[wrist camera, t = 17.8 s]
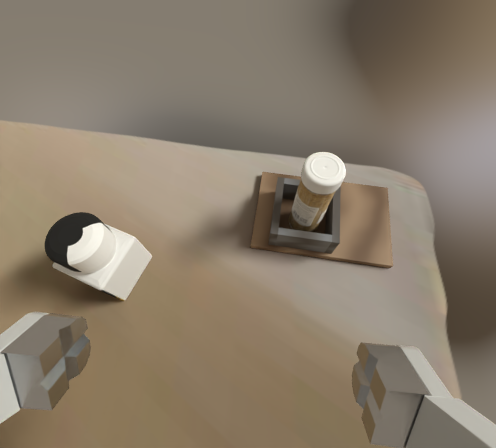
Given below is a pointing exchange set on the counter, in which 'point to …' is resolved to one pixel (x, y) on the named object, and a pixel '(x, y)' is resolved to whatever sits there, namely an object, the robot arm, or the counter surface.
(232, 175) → the counter surface
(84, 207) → the counter surface
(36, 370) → the robot arm
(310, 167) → the sprinkles bottle
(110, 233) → the medicine bottle
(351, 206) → the socket block
